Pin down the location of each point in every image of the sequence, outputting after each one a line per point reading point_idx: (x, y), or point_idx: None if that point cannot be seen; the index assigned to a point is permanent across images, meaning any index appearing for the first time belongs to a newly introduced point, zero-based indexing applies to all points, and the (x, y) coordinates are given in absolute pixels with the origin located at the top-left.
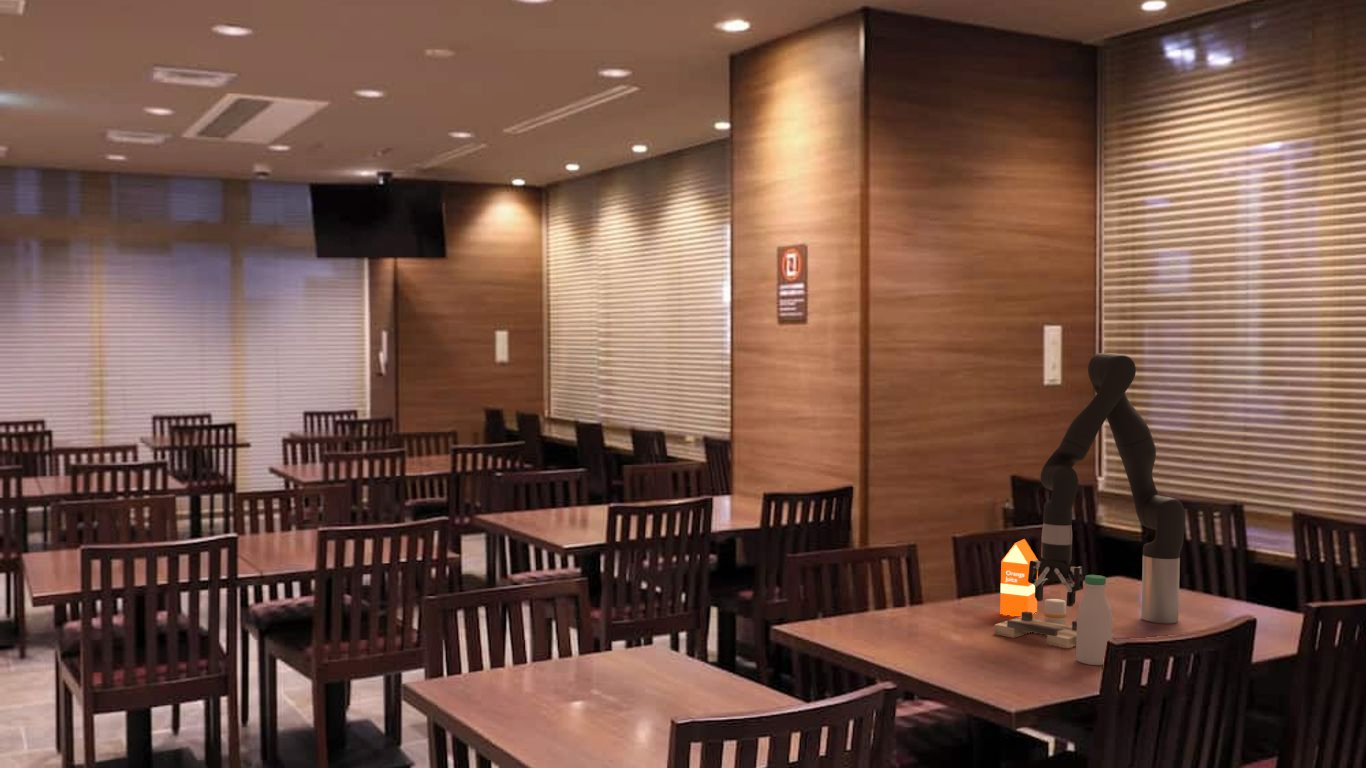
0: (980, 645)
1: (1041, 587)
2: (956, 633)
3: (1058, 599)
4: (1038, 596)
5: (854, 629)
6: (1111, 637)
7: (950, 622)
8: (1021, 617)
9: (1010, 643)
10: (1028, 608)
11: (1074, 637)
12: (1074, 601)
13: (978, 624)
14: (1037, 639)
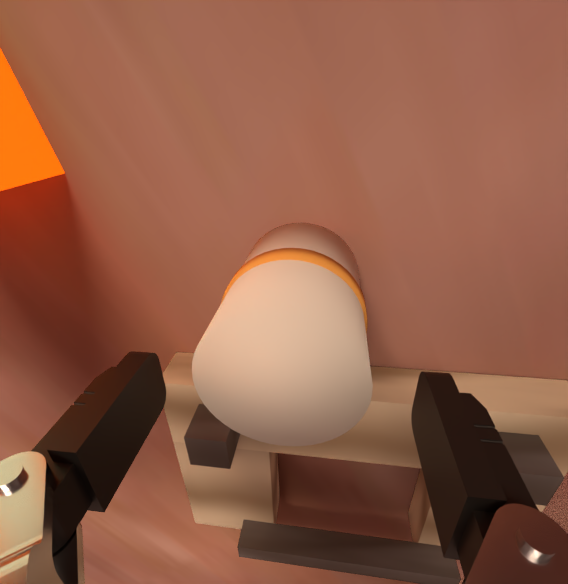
0: (265, 575)
1: (92, 473)
2: (140, 523)
3: (262, 318)
4: (147, 431)
5: None
6: None
7: (16, 443)
8: (170, 393)
9: None
10: (7, 167)
11: None
12: (485, 425)
13: None
14: (349, 479)
